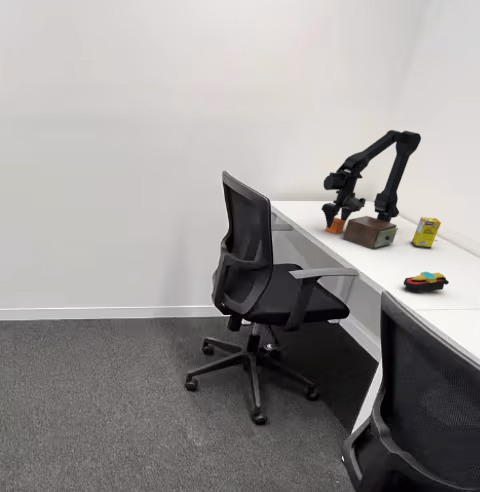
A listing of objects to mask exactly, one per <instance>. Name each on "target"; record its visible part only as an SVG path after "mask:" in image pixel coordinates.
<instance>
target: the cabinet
mask: <svg viewBox="0 0 480 492" xmlns="http://www.w3.org/2000/svg"><path fill="white" fill-rule="evenodd" d="M395 227H396V228H397V224H395V223H392V222H390V223H389V222H385V221H382V220H379V219H377V217H372V216H369V215H364V216H359V217H355V218H351V219H350V218H349V219H347V224H346V227H345V230H344V233H343V237H342V240H345V241H348V242H350V243H354V244H356V245H359V246H362V247H366V248H367V249H371V250H373V249H378V247H374V244H375V241H376V238H377V235H378V232H379V231H381V230H385V229H389V228H395ZM389 245H390V244H387V245H384V246H383V247H385V246H389ZM380 247H382V246H380ZM380 247H379V248H380Z"/></svg>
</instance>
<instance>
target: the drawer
mask: <svg viewBox="0 0 480 492" xmlns="http://www.w3.org/2000/svg"><path fill="white" fill-rule="evenodd" d="M397 232H398V227H397V226H396V227H395V228H389V229H385V230H381V231H379V232H378V235H377V238H376V241H375V244H374V247H377V248H380V246H381V247H385V246H388V245H387V244H389V245H391V244H393V242H394V240H395V237H396V235H397ZM384 245H385V246H384Z"/></svg>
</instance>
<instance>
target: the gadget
mask: <svg viewBox="0 0 480 492" xmlns="http://www.w3.org/2000/svg"><path fill="white" fill-rule="evenodd" d="M449 283H450V282H449V280H447V278H446V276H445V275H444V274H443V273H441V272H430V271H422V272H420V274H419V275H416V276H411V277H406V278H405V279H404V280H403V285H404V286H405V290H407V292H410V293H411V292H412V293H424V292H431V293H432V292H434V291H441V290H443V289H444V286H445V285H446V286H447V285H449Z"/></svg>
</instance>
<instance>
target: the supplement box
mask: <svg viewBox="0 0 480 492" xmlns="http://www.w3.org/2000/svg"><path fill="white" fill-rule="evenodd" d="M441 224H442V221H440V220H439V219H438V218H436V217H427V216H421V217H420V219H419V221H418V225H417V227H416V229H415V231H414V234H413V237H412V239H411V242H410V243H411V244H412V245H413V246H414V247H415V248H421V249H431V248H432V246H433V244H434V241H435V239H436V236H437V234H438V231H439V229H440V227H441Z"/></svg>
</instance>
